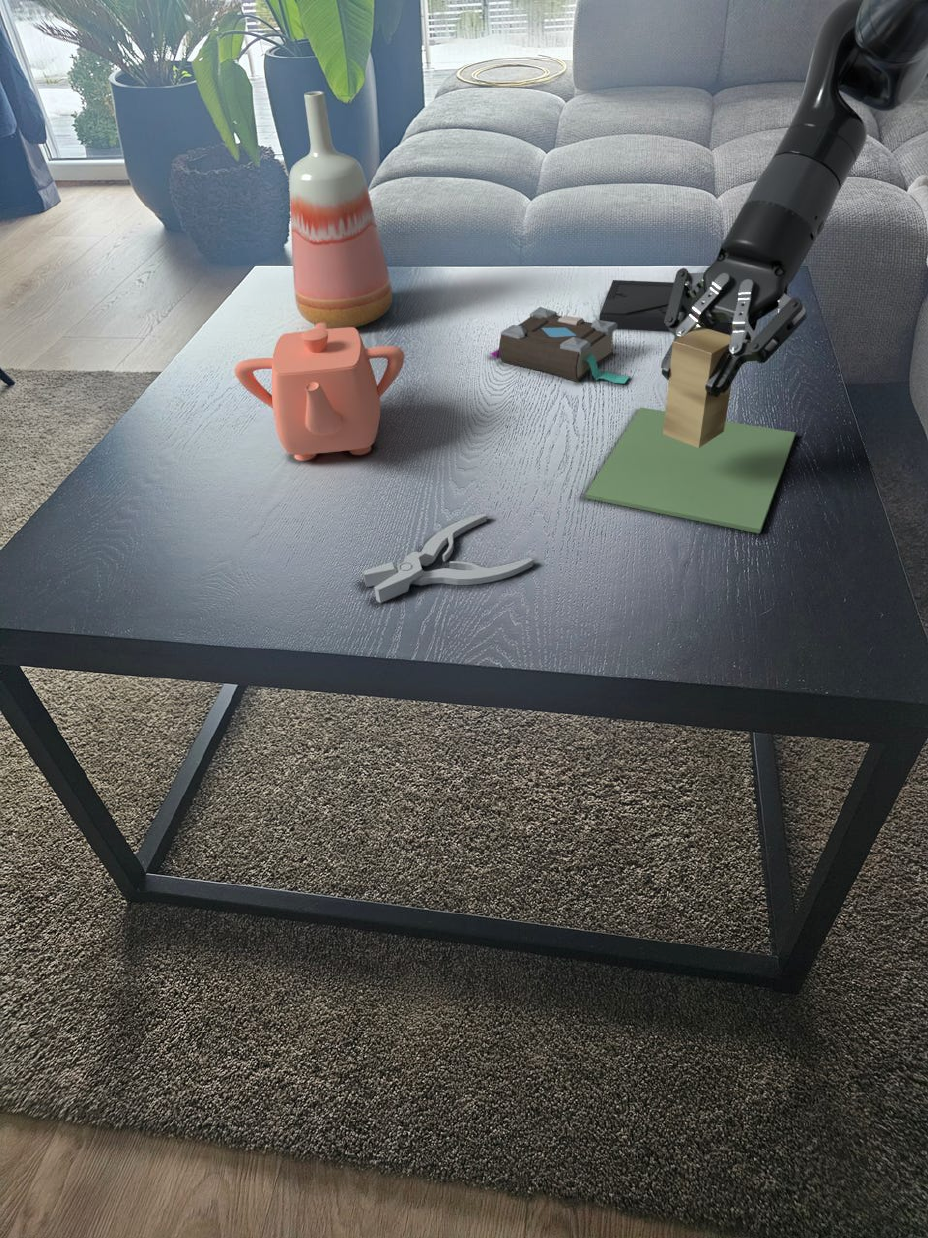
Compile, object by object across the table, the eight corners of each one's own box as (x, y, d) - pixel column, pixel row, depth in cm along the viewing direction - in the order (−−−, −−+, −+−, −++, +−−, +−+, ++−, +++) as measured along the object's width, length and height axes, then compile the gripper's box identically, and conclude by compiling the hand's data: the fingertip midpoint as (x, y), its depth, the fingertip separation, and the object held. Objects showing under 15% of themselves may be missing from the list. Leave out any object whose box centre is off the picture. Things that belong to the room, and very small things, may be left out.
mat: (794, 436, 97) (796, 432, 97) (760, 534, 84) (761, 529, 83) (640, 411, 103) (640, 407, 103) (585, 498, 90) (585, 493, 90)
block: (688, 418, 90) (699, 325, 84) (724, 431, 88) (739, 337, 81) (662, 434, 88) (672, 340, 81) (698, 448, 86) (712, 353, 79)
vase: (317, 298, 137) (281, 83, 117) (404, 300, 134) (382, 80, 115) (286, 336, 126) (240, 106, 107) (380, 338, 124) (350, 104, 104)
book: (658, 357, 114) (661, 320, 111) (613, 394, 107) (616, 356, 104) (532, 328, 124) (532, 293, 120) (483, 360, 116) (482, 324, 113)
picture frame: (599, 327, 122) (727, 334, 118) (599, 312, 121) (730, 318, 117) (611, 292, 132) (731, 297, 128) (612, 277, 130) (733, 282, 126)
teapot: (331, 396, 111) (313, 295, 102) (426, 427, 103) (415, 321, 95) (234, 454, 101) (205, 348, 93) (331, 493, 94) (309, 381, 85)
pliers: (534, 553, 81) (391, 609, 76) (534, 567, 82) (393, 623, 77) (482, 504, 88) (348, 553, 83) (483, 517, 89) (350, 566, 84)
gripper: (702, 185, 82) (615, 348, 84) (843, 212, 74) (742, 392, 76) (726, 228, 88) (644, 379, 90) (858, 257, 80) (764, 423, 82)
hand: (689, 384), depth 83 cm, fingers closed on block, 4 cm apart
